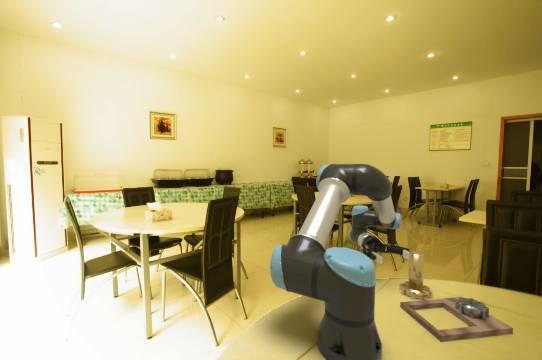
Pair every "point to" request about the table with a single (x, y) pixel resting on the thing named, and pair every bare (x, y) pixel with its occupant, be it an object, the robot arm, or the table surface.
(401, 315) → the table surface
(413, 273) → the planet gear
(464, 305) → the sun gear
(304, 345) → the table surface
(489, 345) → the table surface
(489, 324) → the plate
